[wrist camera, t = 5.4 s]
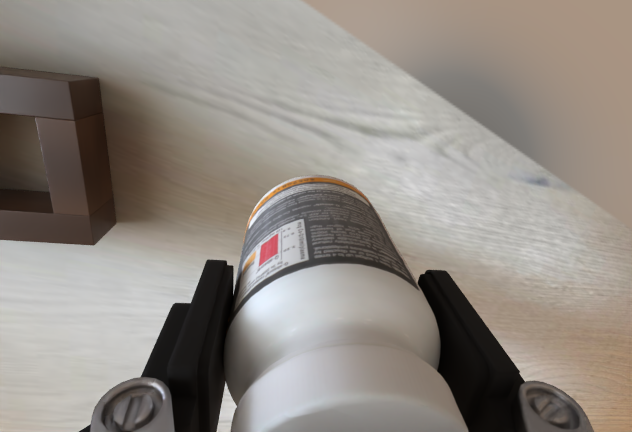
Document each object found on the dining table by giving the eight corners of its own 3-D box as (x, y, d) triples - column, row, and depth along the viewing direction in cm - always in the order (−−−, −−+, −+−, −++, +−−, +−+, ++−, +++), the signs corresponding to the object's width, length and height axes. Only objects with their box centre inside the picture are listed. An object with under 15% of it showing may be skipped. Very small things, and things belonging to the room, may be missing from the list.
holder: (-82, 57, 25) (-145, 57, 21) (98, 77, 26) (68, 81, 23) (-35, 213, 30) (-79, 235, 26) (116, 223, 31) (94, 245, 28)
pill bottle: (219, 232, 15) (121, 498, 6) (319, 140, 14) (378, 310, 5) (309, 307, 17) (334, 588, 8) (404, 233, 16) (557, 474, 7)
